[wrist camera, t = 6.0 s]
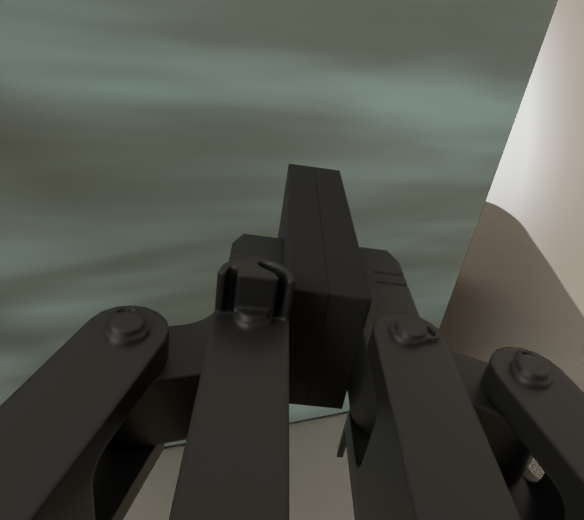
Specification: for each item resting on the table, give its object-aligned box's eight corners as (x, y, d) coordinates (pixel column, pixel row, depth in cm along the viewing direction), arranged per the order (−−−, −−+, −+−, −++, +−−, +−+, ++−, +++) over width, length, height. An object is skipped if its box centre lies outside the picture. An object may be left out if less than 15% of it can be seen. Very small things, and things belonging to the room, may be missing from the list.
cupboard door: (473, 480, 26) (737, -46, 14) (-146, 653, 16) (-896, -487, 5) (406, 387, 31) (556, -50, 20) (-91, 478, 22) (-378, -260, 10)
